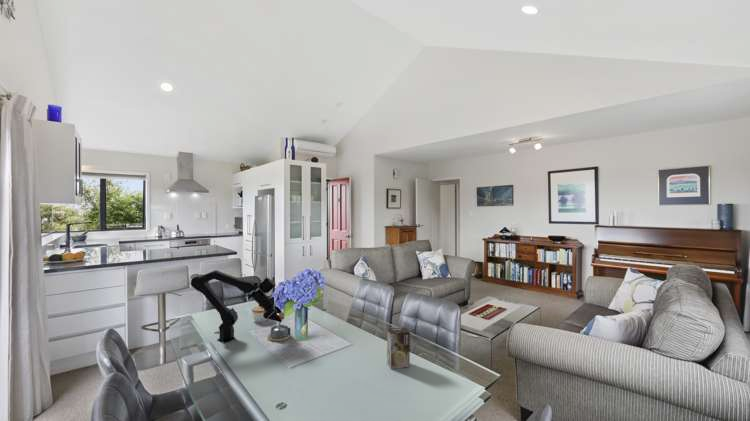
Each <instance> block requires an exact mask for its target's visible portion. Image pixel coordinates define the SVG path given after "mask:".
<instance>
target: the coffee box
mask: <svg viewBox="0 0 750 421" xmlns="http://www.w3.org/2000/svg"><path fill="white" fill-rule="evenodd" d="M386 331H387V332H386V364H387V365H388V367H389V370H390V369H391V370H397V369H405V368H404V367H406V368H410V361H411V360H410V359H411V358H410V357H411V356H410V354H411V353H410V351H411V349H410V348H411V347H410V346H411V342H410V341H411V340H410V339H411V335H410V334H411V332H410V331H409V330H408V329H407V328H406V327H394V328H387V329H386ZM396 368H397V369H396Z"/></svg>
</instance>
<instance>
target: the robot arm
mask: <svg viewBox="0 0 750 421" xmlns="http://www.w3.org/2000/svg"><path fill="white" fill-rule="evenodd" d="M212 280H216V281H219V282H222V283H225V284H228V285H230V286H233V287H236V288H237V289H238V290H239V291H241V292H243V293H244V294H247V300H248V301H250V299H253V301H255V302H256V303H257V304H258V306H259V307H260V306H261V307H262V308H263V309H264V311H265V312H264V314H263V317H264V318H265V319H266V320H271V321H275V322H278V323H279V322H281V323H282V322H283V320H281V318H280V317H279V316H278V315H277V313H279V312H282V313H283V311H282V309H281V308H280V309H279V308H278V307H276V306H275V305H274V297H273V295H272V296H270V295H267V294H269V293H270V292H271V291H272V290H273V289H274V288H275V287H276V286H277V284H276V283H275V281H274V280H273V279H271V278H269V277H268V276H266V277H265V278H264V279H263V281H261V282H257V281H256V282H255V281H254V280H251V279H244V278H239V277H235V276H232V275H231V274H227V273H224V272H222V271H219V270H217V269H215V270H213V271H210V272H208V273H205V274H198V275H196V276H194V277H193V278H192V279H191V280H190V285H191V287H192V288H193V289H194V290H196V291H197V292H199V293H201V294H203V295H204V297H205V298H206V300H207V301H208V302H209V303H210V304H211V305H212V306H213V308H214V309H215V311H217V313H218V314H219V316H220V319H221V322H222V323H221V324H220V325H219V326H218V329H219V338H217V339H216V340H217V341H219V342H223V343H227V342H231V341H233V340H235V339H236V337H235V329H234V325H235V324H236V322H237V321H238V319H239V316H238V312H237V311H236V310H235V309H234V308H233V307H231V308H229V307H227V305H226V304H225V303H224V302H223V300H222V299H221V298H220V297H219V296H218V295H217V293H215V291H214V290H213V288H212V287H211V286H210V281H212Z"/></svg>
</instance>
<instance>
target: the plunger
mask: <svg viewBox="0 0 750 421" xmlns="http://www.w3.org/2000/svg"><path fill="white" fill-rule="evenodd" d="M277 315H278V316H279V317H280V318H281V320H282V321H283V320H284V319H285V313H284V312H283V311H282V312H279V313H277ZM278 325H279V327H275V328H274V329H273V330H275V331H281V330H285V329H286V328H285V327H281V325H282V322H278Z"/></svg>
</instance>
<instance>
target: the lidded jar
mask: <svg viewBox="0 0 750 421" xmlns="http://www.w3.org/2000/svg"><path fill="white" fill-rule="evenodd" d="M264 312H265V311H264V309H263V308H262V307H261V306H260V307H259V306H254V307H252V309H251V315H252V319H253V320H254V321H255V323H264V322H266V321H267V319H265V318H264V317H263V314H264Z"/></svg>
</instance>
